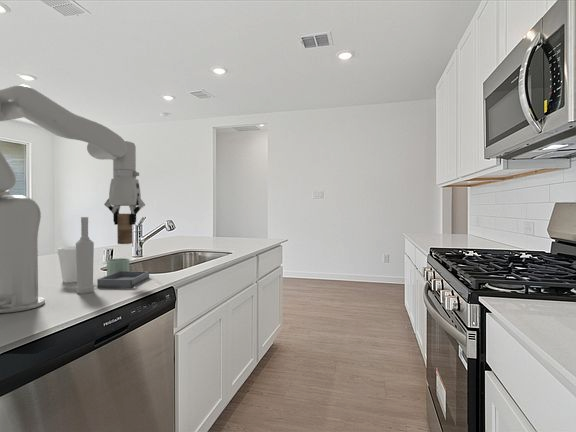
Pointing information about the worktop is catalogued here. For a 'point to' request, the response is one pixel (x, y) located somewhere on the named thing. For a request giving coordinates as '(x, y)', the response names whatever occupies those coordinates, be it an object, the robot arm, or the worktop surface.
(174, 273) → the worktop surface
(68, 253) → the foam cup
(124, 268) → the deep cup
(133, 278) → the tray
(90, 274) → the bottle
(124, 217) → the walnut peg
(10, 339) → the worktop surface
